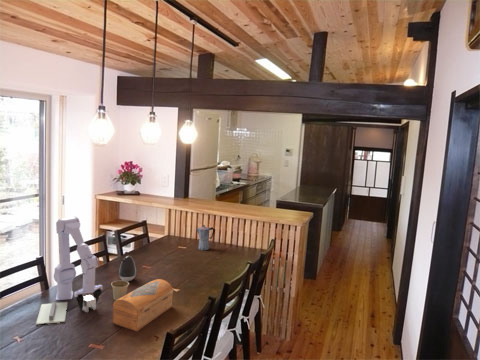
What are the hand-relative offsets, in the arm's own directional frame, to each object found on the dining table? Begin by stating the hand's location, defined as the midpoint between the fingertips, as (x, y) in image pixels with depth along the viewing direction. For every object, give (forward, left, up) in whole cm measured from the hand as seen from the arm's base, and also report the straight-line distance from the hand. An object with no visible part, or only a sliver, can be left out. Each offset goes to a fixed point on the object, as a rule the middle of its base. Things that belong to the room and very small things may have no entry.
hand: (88, 306), depth 189 cm
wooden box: (+11, +26, -2) cm, 29 cm away
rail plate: (+2, -16, -2) cm, 16 cm away
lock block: (0, 0, -2) cm, 2 cm away
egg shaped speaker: (-35, +22, -2) cm, 41 cm away
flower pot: (-9, +16, -2) cm, 18 cm away
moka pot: (-89, +87, -2) cm, 124 cm away
